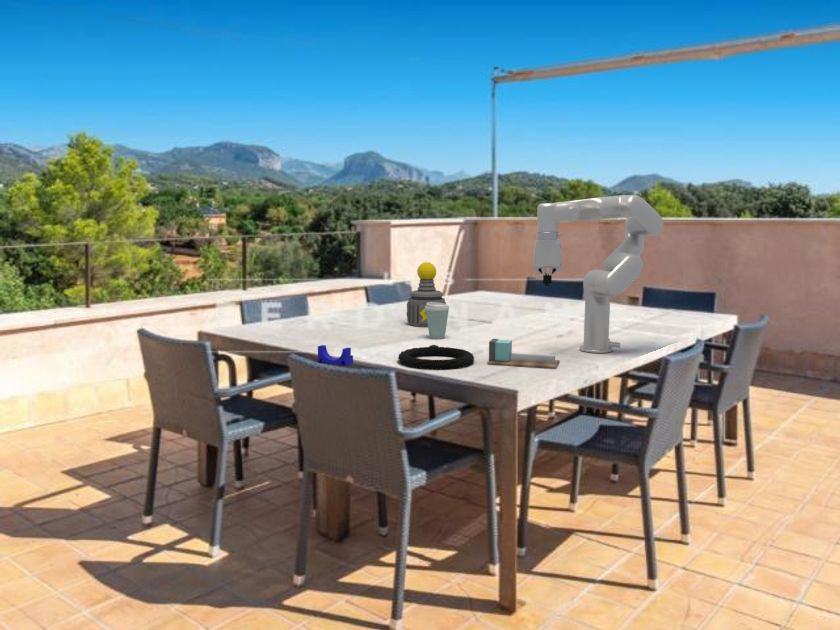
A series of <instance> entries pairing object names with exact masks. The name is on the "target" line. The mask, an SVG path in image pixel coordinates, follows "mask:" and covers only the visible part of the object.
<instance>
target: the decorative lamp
mask: <svg viewBox="0 0 840 630" xmlns="http://www.w3.org/2000/svg"><path fill="white" fill-rule="evenodd" d="M417 275H418V276H417V277H418V278H419V282H418V287H417V289H416V290H414V291H410V296H411V297H409V298H408V301H407V303H406V321H407V322H408V325H409V326H411V327H416V328H428V322H427V315H426V309H425V306H426V303H429V302H436V303H444V304H447V302H446V300H445V298H444V297H443V296H444V293H443V292H442V291H440V290H437V288H436V287H435V286H436V284H435V283H434V282H435V279H434V278H435V277H436V276H437V269H436V266H435V265H434V264H433V263H431V262H428V261H424V262H422V263H420V265H419V266H418V268H417Z"/></svg>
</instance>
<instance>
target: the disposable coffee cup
mask: <svg viewBox="0 0 840 630" xmlns="http://www.w3.org/2000/svg"><path fill="white" fill-rule="evenodd" d="M425 309H426V315H427V322H428V327H427V329H428V335H429V338H430V339H433V340H442V339H444V338H445V337H446V332H447V324H448V318H449V317H448V316H449V311H450V307H449V304H447V303H446V304H444V303H436V302H429V303H426V306H425Z"/></svg>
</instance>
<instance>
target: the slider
mask: <svg viewBox="0 0 840 630" xmlns="http://www.w3.org/2000/svg"><path fill="white" fill-rule="evenodd" d="M512 347H513V340H509V339H508V340H507V339H498V340H497V341H496V342H495V360H498V361H509V354H510V353H513V348H512Z"/></svg>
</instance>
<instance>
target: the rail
mask: <svg viewBox="0 0 840 630" xmlns="http://www.w3.org/2000/svg"><path fill="white" fill-rule="evenodd" d="M555 360H556V356H555V355H547V354H546V355H543V354H530V353H529V354H528V353H513V352H512V353H510V354H509V361H516V362H532V363H547V364H555Z"/></svg>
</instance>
